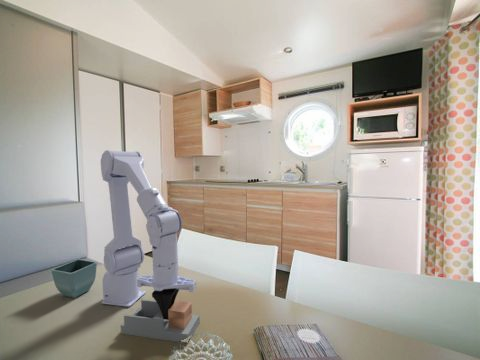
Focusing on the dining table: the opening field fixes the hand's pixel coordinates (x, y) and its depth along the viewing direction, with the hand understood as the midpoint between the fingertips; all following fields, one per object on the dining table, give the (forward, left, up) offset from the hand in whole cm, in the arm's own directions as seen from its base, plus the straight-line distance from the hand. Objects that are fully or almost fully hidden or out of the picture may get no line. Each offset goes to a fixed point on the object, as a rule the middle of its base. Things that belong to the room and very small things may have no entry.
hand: (167, 316), depth 58 cm
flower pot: (-37, +10, -3) cm, 39 cm away
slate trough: (-1, 0, -3) cm, 3 cm away
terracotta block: (+3, 0, -1) cm, 3 cm away
